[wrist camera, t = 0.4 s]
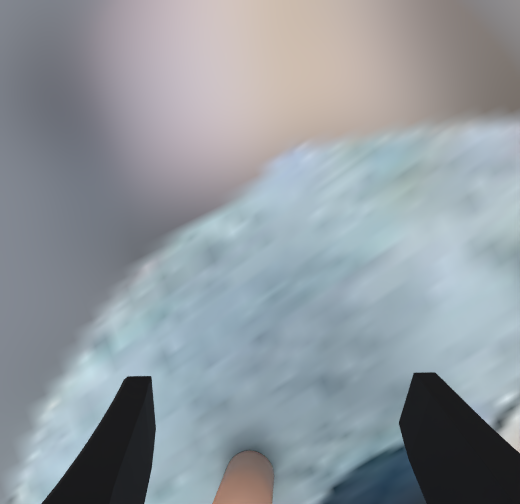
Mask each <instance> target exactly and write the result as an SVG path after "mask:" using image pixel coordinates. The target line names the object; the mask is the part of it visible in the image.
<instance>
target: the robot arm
mask: <svg viewBox="0 0 520 504" xmlns="http://www.w3.org/2000/svg"><path fill="white" fill-rule="evenodd" d="M399 425H400V429H401V433H402V437H403V441H404V444H405V448H406V451H407V455H408V458H409V461H410V464H411V466H412V469H413V471H414V474H415V476H416V478H417V481H418V483H419V486H420V488H421V491H422V493H423V496H424V498H425V500H426V503H427V504H520V453H519V452H518V451H517V450H515V449H514V448H513V447H512V446H511V445H510V444H509V443H508V442H506V441H505V440H504V439H503V438H502V437H501V436H500V435H499V434H498V433H497V432H496V431H495V430H493V429H492V428H491V427H490V426H489V425H488V424H487V423H486V422H485V421H484V420H483V419H482V418H481V417H480V416H479V415H478V414H477V413H476V412H475V411H474V410H473V409H472V408H471V407H470V406H469V405H468V404H467V403H466V402H465V401H464V400H463V399H462V398H461V397H460V396H459V395H458V394H457V393H456V392H454V391H453V390H452V389H451V388H450V387H449V386H448V385H447V384H446V383H445V382H444V381H443V380H442V379H441V378H440V377H439V376H438V375H437V374H436V373H414V374H413V378H412V381H411V384H410V388H409V391H408V394H407V398H406V401H405V404H404V408H403V411H402V414H401V417H400V421H399ZM155 431H156V425H155V414H154V402H153V390H152V379H151V376H130V377H127V378H125V379H124V381H123V383H122V385H121V387H120V389H119V391H118V392H117V394H116V396H115V398H114V400H113V402H112V403H111V405H110V407H109V408H108V410H107V412H106V413H105V415H104V417H103V418H102V420H101V422H100V423H99V425H98V426H97V428H96V429H95V431H94V433H93V434H92V436H91V437H90V439H89V440H88V442H87V443H86V445H85V446H84V448H83V449H82V451H81V452H80V454H79V455H78V456H77V458H76V459H75V460H74V462H73V463H72V465H71V466H70V467H69V469H68V470H67V471H66V473H65V474H64V476H63V477H62V478H61V480H60V481H59V482H58V484H57V485H56V486H55V487H54V489H53V490H52V491H51V493H50V494H49V495H48V496H47V498H46V499H45V500H44V501H43V502H42V504H144V502H145V497H146V493H147V488H148V483H149V478H150V473H151V468H152V460H153V451H154V441H155Z"/></svg>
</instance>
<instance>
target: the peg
mask: <svg viewBox="0 0 520 504" xmlns="http://www.w3.org/2000/svg"><path fill="white" fill-rule="evenodd" d="M273 485H274V471H273V468H272V465H271V463H270V462H269V460H268V459H267V458H266V457H265V456H264V455H262V454H261V453H259V452H256V451H243V452H240V453H238V454H237V455H235V456H234V457H233V458H232V459H231V461H230V462H229V464H228V466H227V468H226V471H225V473H224V476H223V478H222V481H221V483H220V486H219V488H218V491H217V493H216V496H215V498H214V501H213V503H212V504H272V498H273Z"/></svg>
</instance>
